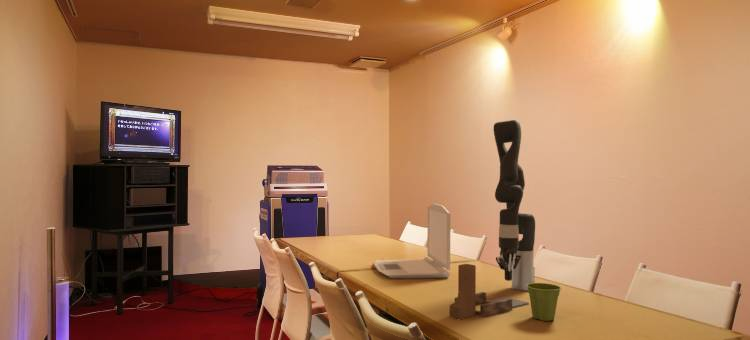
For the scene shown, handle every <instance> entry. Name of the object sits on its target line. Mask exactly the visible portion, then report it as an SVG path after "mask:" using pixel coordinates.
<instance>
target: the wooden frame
mask: <svg viewBox="0 0 750 340" xmlns="http://www.w3.org/2000/svg"><path fill="white" fill-rule="evenodd" d="M457 297H458V296H457ZM457 297H454V302H455V301H456V300H457ZM508 298H509V299H504V300H500V301H495V302H492V301H490V300H488V299H487V292H484V291H482V292H477V293H476V304H475V306H479V310H477V309H475V316H478V315H479V316H478V317H481V316H482V318H486V316H487V317H490V315H491V316H494V315H498V314H502V313H506V312H510V311H513V308H512V299H513V298H512V299H510V298H511V297H508Z"/></svg>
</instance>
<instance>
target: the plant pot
mask: <svg viewBox="0 0 750 340" xmlns="http://www.w3.org/2000/svg"><path fill="white" fill-rule="evenodd" d="M526 287H528V295H529V301H530V302H529V303H530V307H531V315H532V318H534V319H535V320H536V319H537V320H539V321H542V322H543V321H544V322H545V321H547V322H549V321H553V320H555V317H556V309H557V304H558V300H559V299H558V298H559V296H560V292H561V290H562V287H561V286H559V285H557V284H551V283H545V282H535V283H529V284H526Z"/></svg>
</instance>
